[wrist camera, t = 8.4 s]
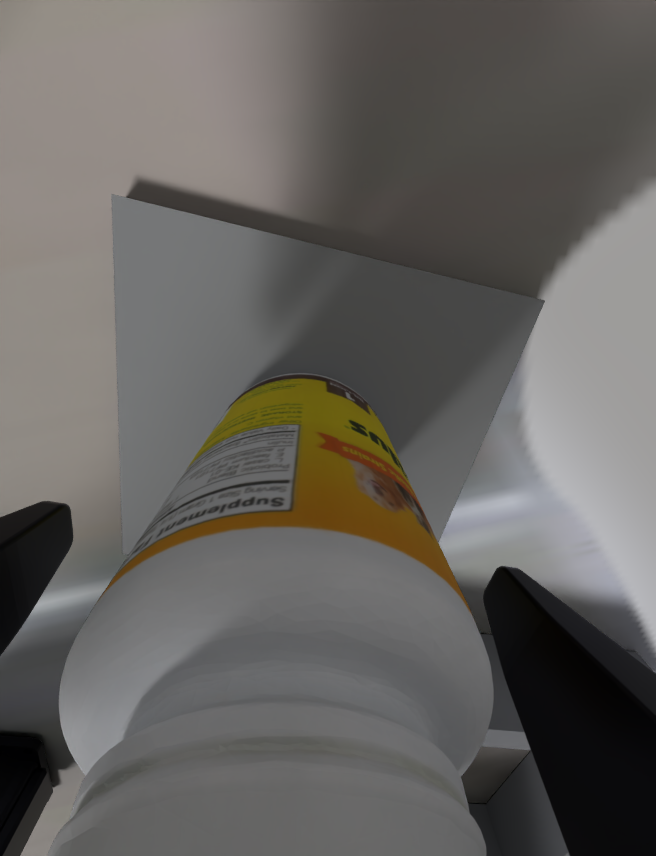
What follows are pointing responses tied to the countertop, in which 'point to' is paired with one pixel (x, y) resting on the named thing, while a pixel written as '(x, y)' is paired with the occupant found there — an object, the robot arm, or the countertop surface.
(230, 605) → the supplement bottle
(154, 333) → the rubber mat
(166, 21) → the countertop surface
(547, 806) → the equipment case
